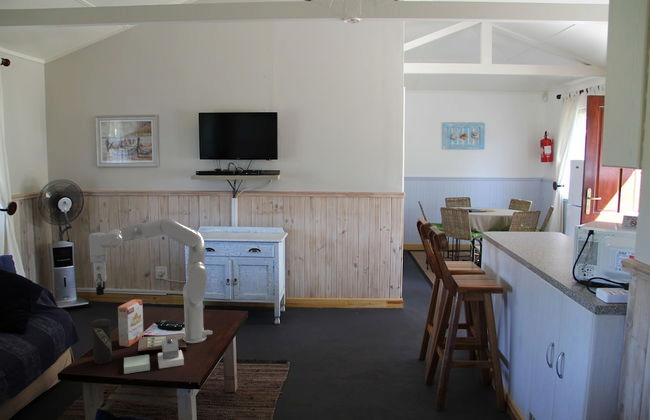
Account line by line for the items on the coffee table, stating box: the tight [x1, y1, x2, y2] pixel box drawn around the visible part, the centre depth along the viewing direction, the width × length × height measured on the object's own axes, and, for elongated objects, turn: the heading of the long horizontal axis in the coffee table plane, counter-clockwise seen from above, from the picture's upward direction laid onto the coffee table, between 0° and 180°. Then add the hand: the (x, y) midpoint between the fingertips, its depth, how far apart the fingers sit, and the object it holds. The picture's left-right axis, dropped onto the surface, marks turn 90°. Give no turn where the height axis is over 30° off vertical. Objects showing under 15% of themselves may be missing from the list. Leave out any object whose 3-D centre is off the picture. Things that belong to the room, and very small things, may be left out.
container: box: [90, 318, 113, 365], centre depth 237 cm, size 9×9×20 cm
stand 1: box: [123, 354, 151, 375], centre depth 231 cm, size 11×11×3 cm
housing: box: [161, 338, 179, 359], centre depth 236 cm, size 7×6×8 cm
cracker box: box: [117, 298, 144, 348], centre depth 260 cm, size 14×6×21 cm, turn 168°
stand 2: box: [157, 349, 185, 369], centre depth 237 cm, size 11×11×3 cm
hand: (100, 292), depth 245 cm, fingers open, 9 cm apart
